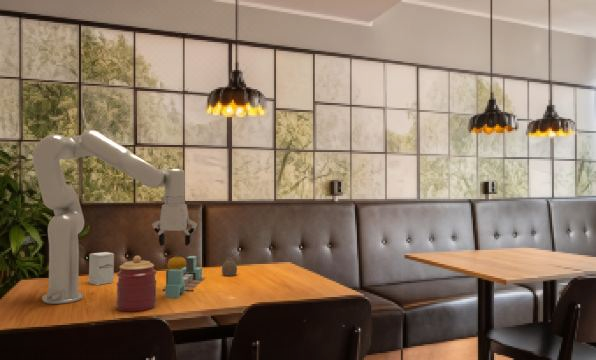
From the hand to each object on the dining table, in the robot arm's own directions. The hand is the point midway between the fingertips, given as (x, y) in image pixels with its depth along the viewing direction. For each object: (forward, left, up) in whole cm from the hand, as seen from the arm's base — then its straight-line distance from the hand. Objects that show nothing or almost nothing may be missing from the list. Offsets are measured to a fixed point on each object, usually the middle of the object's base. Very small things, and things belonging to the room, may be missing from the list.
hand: (174, 245), depth 170 cm
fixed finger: (+24, 0, -18) cm, 30 cm away
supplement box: (+17, +37, -19) cm, 45 cm away
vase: (+33, -15, -19) cm, 41 cm away
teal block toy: (-1, -1, -19) cm, 19 cm away
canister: (-18, +7, -19) cm, 27 cm away
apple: (+35, +10, -19) cm, 41 cm away
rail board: (+16, 0, -19) cm, 25 cm away
